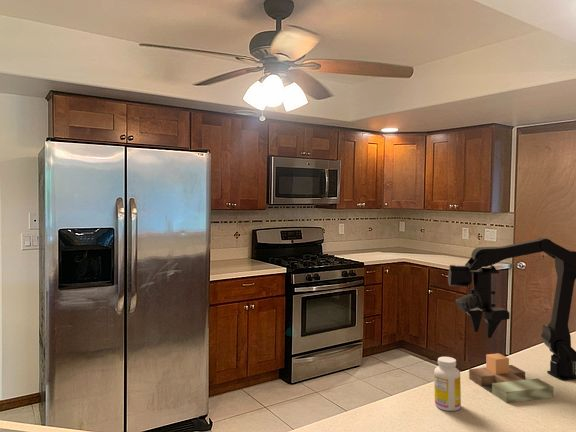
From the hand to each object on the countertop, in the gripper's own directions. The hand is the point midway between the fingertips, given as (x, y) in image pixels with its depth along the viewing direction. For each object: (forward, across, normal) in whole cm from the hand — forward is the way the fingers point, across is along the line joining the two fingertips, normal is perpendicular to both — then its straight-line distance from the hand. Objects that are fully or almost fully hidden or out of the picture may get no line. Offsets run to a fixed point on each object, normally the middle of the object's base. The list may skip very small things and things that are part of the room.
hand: (482, 334), depth 142 cm
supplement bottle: (+12, +19, -24) cm, 33 cm away
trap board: (+12, +12, 0) cm, 17 cm away
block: (+9, +7, 0) cm, 12 cm away
